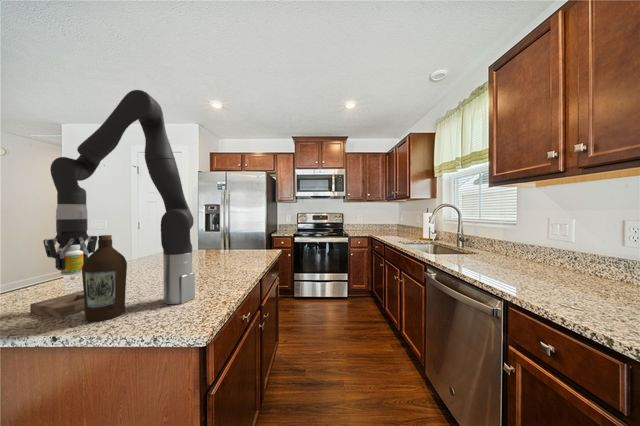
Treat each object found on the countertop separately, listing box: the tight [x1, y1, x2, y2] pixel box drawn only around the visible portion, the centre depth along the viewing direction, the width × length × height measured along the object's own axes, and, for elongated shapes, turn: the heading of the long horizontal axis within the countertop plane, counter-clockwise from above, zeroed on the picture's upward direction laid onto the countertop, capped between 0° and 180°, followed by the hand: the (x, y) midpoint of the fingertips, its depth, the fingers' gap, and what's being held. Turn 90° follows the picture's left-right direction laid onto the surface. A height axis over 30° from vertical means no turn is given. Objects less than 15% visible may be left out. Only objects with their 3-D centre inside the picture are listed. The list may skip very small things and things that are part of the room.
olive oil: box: [81, 234, 128, 323], centre depth 77 cm, size 11×11×25 cm
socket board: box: [29, 290, 85, 319], centre depth 84 cm, size 14×14×3 cm
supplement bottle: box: [60, 245, 83, 276], centre depth 84 cm, size 5×5×10 cm
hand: (72, 267), depth 84 cm, fingers closed on supplement bottle, 5 cm apart
